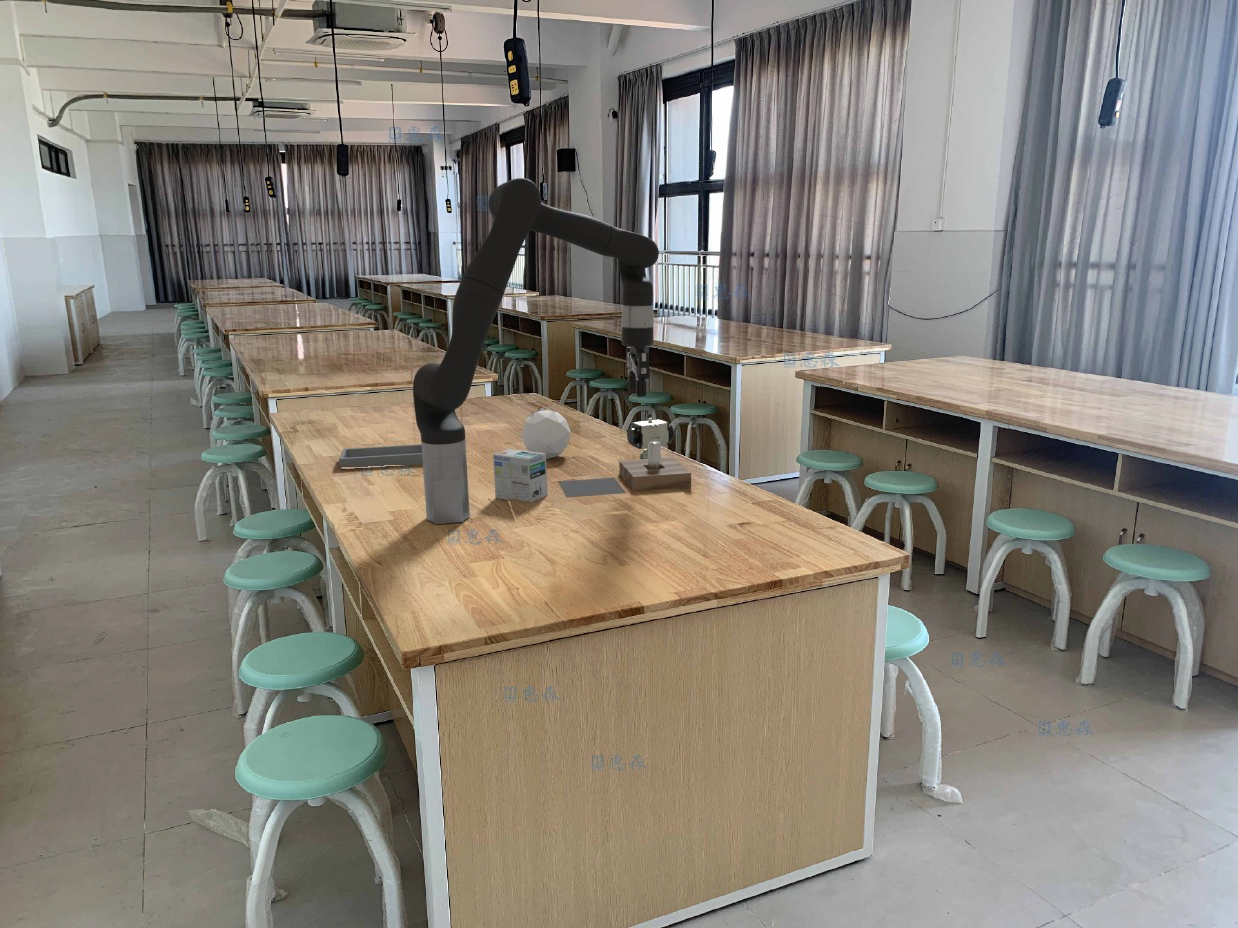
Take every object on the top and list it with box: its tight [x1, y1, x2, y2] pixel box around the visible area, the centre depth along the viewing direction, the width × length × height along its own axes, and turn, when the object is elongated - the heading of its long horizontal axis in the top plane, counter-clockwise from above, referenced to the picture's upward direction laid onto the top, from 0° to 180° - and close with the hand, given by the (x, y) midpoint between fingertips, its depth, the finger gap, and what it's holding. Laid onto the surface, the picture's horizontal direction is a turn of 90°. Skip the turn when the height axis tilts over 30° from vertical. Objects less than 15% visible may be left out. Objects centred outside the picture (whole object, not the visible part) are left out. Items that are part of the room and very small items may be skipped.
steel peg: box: [648, 441, 661, 470], centre depth 219 cm, size 3×3×10 cm
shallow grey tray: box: [338, 443, 423, 469], centre depth 244 cm, size 12×23×3 cm, turn 102°
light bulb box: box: [493, 448, 549, 503], centre depth 207 cm, size 11×7×11 cm, turn 59°
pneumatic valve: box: [626, 417, 675, 459], centre depth 237 cm, size 6×12×12 cm, turn 116°
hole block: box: [618, 456, 692, 492], centre depth 220 cm, size 16×14×4 cm
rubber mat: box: [557, 477, 627, 498], centre depth 215 cm, size 14×14×1 cm
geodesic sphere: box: [520, 407, 572, 460], centre depth 245 cm, size 14×14×14 cm
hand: (637, 393), depth 214 cm, fingers open, 8 cm apart
